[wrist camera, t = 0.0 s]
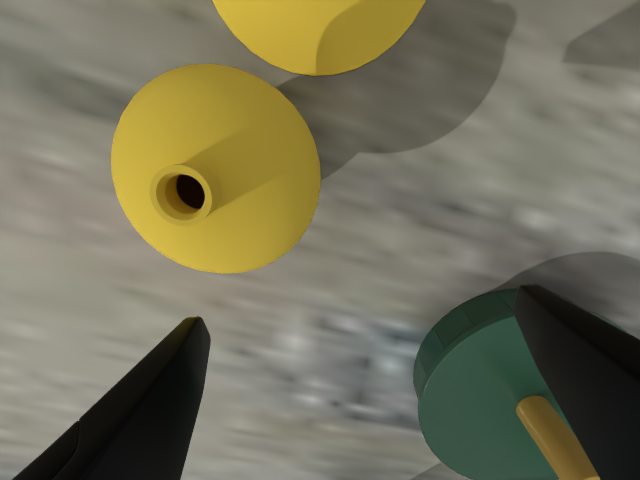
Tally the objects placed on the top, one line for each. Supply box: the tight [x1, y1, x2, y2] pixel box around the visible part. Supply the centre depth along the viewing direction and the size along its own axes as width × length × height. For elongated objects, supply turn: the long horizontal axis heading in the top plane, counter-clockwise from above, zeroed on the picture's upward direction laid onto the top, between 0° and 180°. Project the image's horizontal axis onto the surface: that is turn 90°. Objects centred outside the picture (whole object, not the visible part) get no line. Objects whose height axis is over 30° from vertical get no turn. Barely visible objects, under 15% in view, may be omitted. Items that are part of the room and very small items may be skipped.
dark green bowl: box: [413, 289, 577, 401], centre depth 27 cm, size 16×16×4 cm
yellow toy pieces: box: [111, 0, 426, 273], centre depth 15 cm, size 25×14×13 cm, turn 161°
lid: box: [418, 311, 627, 480], centre depth 23 cm, size 17×17×7 cm
